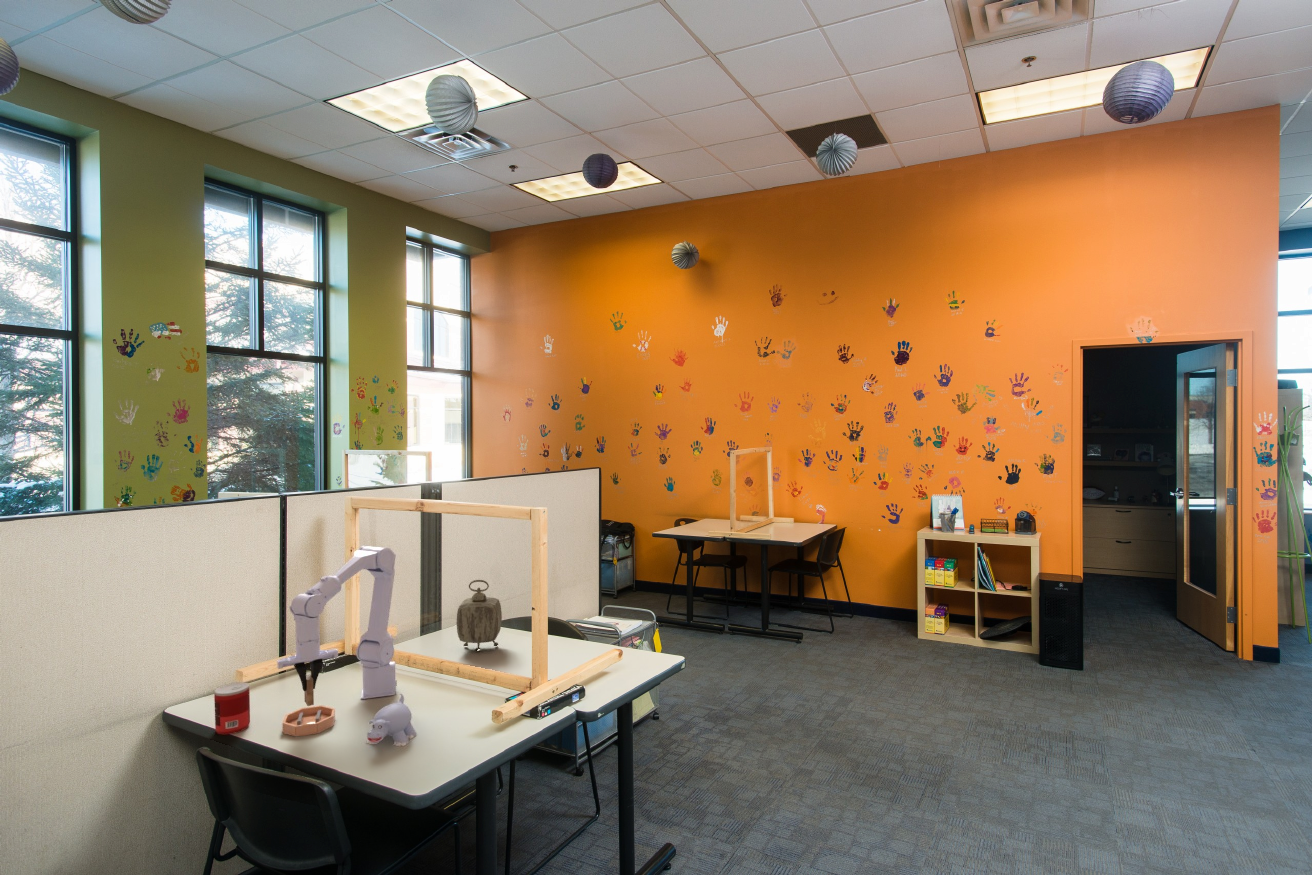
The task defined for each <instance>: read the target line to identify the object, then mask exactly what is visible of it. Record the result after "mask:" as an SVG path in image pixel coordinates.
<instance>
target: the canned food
mask: <svg viewBox="0 0 1312 875" xmlns="http://www.w3.org/2000/svg"><path fill="white" fill-rule="evenodd" d="M213 695H214V725H215V726H214V727H215V728H214V729H215V732H216V733H217V734H218V735H233V734H237V733H239V732H240V733H241V732H242V731H244V730H246V729H247V728H248V727H249V726H250V725H251V724H250V723H251V714H250V713H251V706H250V705H251V702H250V700H251V698H250V696H251V695H250V684H249V683H247V682H231V683H227V684H224V685H222V686H218V688H216V689H215V690H214V694H213Z"/></svg>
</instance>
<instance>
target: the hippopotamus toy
mask: <svg viewBox="0 0 1312 875" xmlns="http://www.w3.org/2000/svg"><path fill="white" fill-rule="evenodd" d="M399 696H400V698H399V700H398V702H393V703H390V704H388V705H385V706H383V707H381V708H380V709H379V710H378V711H377V712H376V713H375V715H374V717H373V719H370V720H369V721H368V724H369V725H372V726H371V727H372V729H370V730H368V731H367V734H366V737H367V741H366V742H365V744H369V745H377V744H379V743H380V742H382V741H383V740H384V738H385V737H387V736H391V737H392V740H393V742H394V743H393V746H396V747H405V746H406V745H407V744H409V742H410V741H409V740H412V739H413V738H415V737H416V736H417V731H416V729H415V728H414V725H413V724H412V722H411V721H412V718H413V717H412V711H411V709H410V708H409V707H408V705H407V704H404V703H405V697H404V695H403V693H399Z"/></svg>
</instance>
